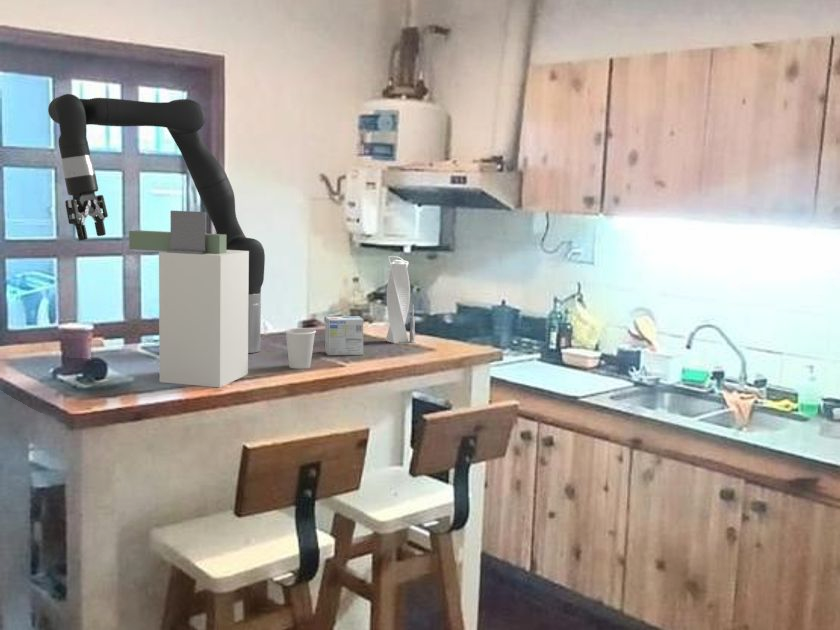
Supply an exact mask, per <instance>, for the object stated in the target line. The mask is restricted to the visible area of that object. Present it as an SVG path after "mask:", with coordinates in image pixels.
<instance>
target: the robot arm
mask: <svg viewBox="0 0 840 630" xmlns="http://www.w3.org/2000/svg"><path fill="white" fill-rule="evenodd" d="M47 110H48V111H47V113H48V115H49V117H50V119H52V121H53V122H55V123H56V124H59V130H60V131H59V133H60V135H59V137H58V149H59V152H60V158H61V166H62V172H63V177H64V182H65V187H66V192H67V194H68V196H72V199H66V200H65V201H64V204H65V208H66V214H67V221H68V224H69V225H73V226H75V229H76V234H77V238H78V241H85V240H88V234H87V233H88V232H87V229H86V228H87V227H86V224H85V222H86V218H87V217H88V216H89V217H91V218H92V219H93V221H94V223H93V224H94V226H95V227H94V228H95V231H96V232H95V233H96V236H98V237H104V236H106V234H107V233H106V228H105V222H104V221H105V219H106V218H108V217H109V215H108V211H107V206H106V202H105V198H104V195H103V194H98V195H96V194H95V193H96V192H98V191H99V186H98V180H97V176H96V171H95V170H96V169H95V166H94V162H93V159H92V156H91V153H90V148H89V143H88V139H87V125H91V126H92V125H94V126H95V125H96V126H105V127H158V128H159V127H160V128H166V129H167V131H168V132H169V134H170V135H171V137H172V139H173V141H174V142H175V144H176V146H177V148H178V150H179V152H180V153H181V155H182V158H183V160H184V163H185V165H186V168H187V170H188V172H189V174H190V177H191V179H192V181H193V183H194V186H195V188H196V191H197V193H198V195H199V197H200V199H201V202H202V204H203V205H204V208H205V210H206V212H207V214H208V216H209V217H208V218H209V219H210V221H211V223H212V225H213V227H214V229H215V231H216V234H225V235H226V250H240V251H249V293H248V354H254V353H259V352H261V322H262V321H261V319H262V318H261V316H262V315H261V308H262V307H261V305H262V302H261V301H262V300H261V299H262V298H261V297H262V293H261V291H262V286H263V285H264V281H265V280H264V279H265V263H266V261H265V259H266V255H265V249H264V246H263V244H262V242H260V241H259V240H257V239H255V238H251V237H247V236H246V235H245V233H244V230H242V228H241V225H240V223H239V221H238V217H237V214H236V199H235V197H236V196H235V194H234V193H235V192H234V190H233V186H232V184H231V182H230V180H229V178H228V176H227V175H228V174H227V173H226V171H225V169H224V168H223V166H222V165H221V164H220V162H219V161H218V159H217V158H216V157H215V155H214V154H212V152H211V151H210V149H209V148H208V147H207V145H206V144H205V142H204V139H203V137H202V135H201V133H200V131H199V130H201V129H202V128H203V126H204V125H205V123H206V113H205V110H204V108H203V106H202V105H201V104H200V103H199V102H197V101H196V100H194V99H193V100H192V99H191V98H190V99H189V98H182V99H173V100H171V101H169V102H168V101H167V102H152V101H151V102H150V101H140V100H131V99H122V98H108V97H94V98H87V99H86V98H80V97H78V96H76V95H74V94H73V93H65V94H63V95H60V96H57V97H55V98H53V100H51V101H50V103H49V105H48V108H47ZM73 217H74V218H73Z"/></svg>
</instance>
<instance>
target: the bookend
mask: <svg viewBox="0 0 840 630" xmlns="http://www.w3.org/2000/svg"><path fill="white" fill-rule="evenodd" d="M207 214H208V212H207V211H194V210H193V211H187V210H170V232H171V250H167V253H184V254H206V234H207Z"/></svg>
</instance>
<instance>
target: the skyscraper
mask: <svg viewBox="0 0 840 630" xmlns="http://www.w3.org/2000/svg"><path fill="white" fill-rule="evenodd" d="M390 258H395V259H393V260H392V261H391V259H390ZM387 259H388V263H389V265H390V271H389V275H388V280H387V286H386V308H387V310H386V311H387V316H388V317H387V318H388V323H389V327H388V330H387V335H386V338H385V342H386V341H387V342H388V343H390V342H391V344H394V345H399V346H400V345H407V344H410V343H411V344H416V341H415V339H416V338H415V337H416V331H415V325H416V324H415V323H416V317H415V308H414V303H413V304H412V309H411V317H410V327H409V328H410V331H409V338H408V333H407V329H406V322H407V317H408V314H409V310H410V309H409V308H410V304H411V303H410V302H411V282H410V277H409V271H408V269H409V268H408V267H409V264H410V262H409V261H408V260H404V259H403V258H402V257H400V256H397V255H389V256H387Z"/></svg>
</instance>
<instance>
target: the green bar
mask: <svg viewBox="0 0 840 630" xmlns="http://www.w3.org/2000/svg"><path fill="white" fill-rule="evenodd" d="M128 231H129V233H128V239H129V241H128V243H129V244H128V248H129V250H139V251H158V252H164V251H167V250H171V231H163V230H162V231H161V230H159V231H158V230H143V229H142V230H136V229H135V230H128ZM206 253H211V254H222V253H226V235H225V234H217V233H206Z"/></svg>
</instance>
